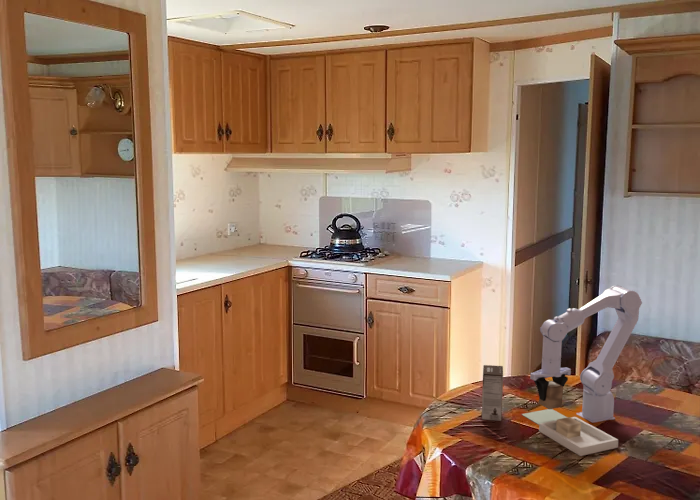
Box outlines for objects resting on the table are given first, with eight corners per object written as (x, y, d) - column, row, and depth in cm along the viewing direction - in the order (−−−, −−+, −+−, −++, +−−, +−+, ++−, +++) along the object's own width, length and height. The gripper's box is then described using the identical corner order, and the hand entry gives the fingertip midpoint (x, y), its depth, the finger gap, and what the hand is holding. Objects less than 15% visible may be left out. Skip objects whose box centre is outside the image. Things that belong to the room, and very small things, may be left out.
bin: (574, 425, 209) (575, 416, 208) (617, 449, 192) (618, 439, 192) (538, 432, 203) (539, 423, 203) (580, 457, 187) (580, 448, 187)
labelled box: (551, 401, 215) (552, 380, 213) (561, 407, 210) (563, 386, 209) (538, 403, 213) (540, 382, 211) (549, 409, 208) (550, 388, 207)
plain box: (569, 429, 205) (569, 417, 204) (580, 435, 200) (581, 423, 199) (556, 431, 203) (556, 419, 202) (567, 438, 198) (568, 425, 198)
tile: (550, 410, 221) (551, 408, 220) (576, 424, 210) (576, 422, 209) (521, 416, 216) (521, 414, 216) (545, 430, 205) (545, 428, 205)
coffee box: (481, 410, 221) (483, 364, 219) (501, 411, 220) (502, 365, 217) (481, 421, 212) (483, 373, 210) (501, 422, 211) (503, 374, 209)
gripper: (541, 364, 203) (539, 406, 205) (578, 358, 209) (575, 399, 211) (526, 357, 210) (525, 398, 212) (563, 352, 215) (560, 392, 217)
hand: (549, 398), depth 212 cm, fingers closed on labelled box, 5 cm apart
